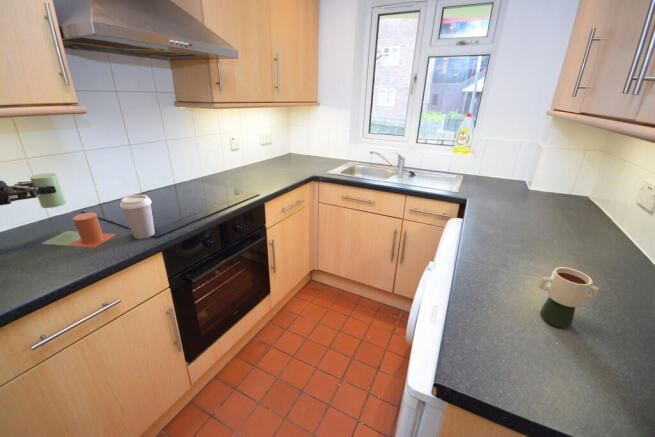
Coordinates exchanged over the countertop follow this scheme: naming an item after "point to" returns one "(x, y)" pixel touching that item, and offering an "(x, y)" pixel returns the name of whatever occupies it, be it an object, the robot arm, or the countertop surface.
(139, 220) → the coffee cup
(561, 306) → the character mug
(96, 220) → the orange cylinder on base
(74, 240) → the board
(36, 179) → the mint green cylinder
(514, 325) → the countertop surface
